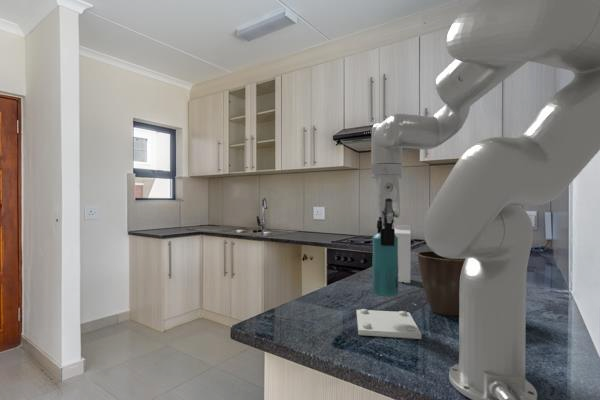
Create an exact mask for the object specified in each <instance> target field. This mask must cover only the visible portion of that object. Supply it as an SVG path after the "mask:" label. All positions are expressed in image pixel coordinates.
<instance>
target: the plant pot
mask: <svg viewBox="0 0 600 400" xmlns="http://www.w3.org/2000/svg"><path fill="white" fill-rule="evenodd" d="M465 259H466V258H464V259H450V258H445V257H442V256H439V255H437V254H436V253H434V252H433V251H432V250H431V251H430V250H429V251H427V250H425V251H419V252H417V260H418V261H417V262H418V268H419V272H420V273H419V274H420V278H421V282H422V286H423V291H424V293H425V296H426V300H427V304H428V306H429V308H430V310H431V311H432V312H433V313H435V314H438V315H441V316H449V317H455V316H459V291H460V275H461V270H462V267H463V264H464V261H465Z"/></svg>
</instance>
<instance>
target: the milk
mask: <svg viewBox="0 0 600 400" xmlns="http://www.w3.org/2000/svg"><path fill="white" fill-rule="evenodd" d="M394 229H395V235H396V236H397V237H398V269H399V271H398V276H399V283H402V282H404V283H406V284H411V256H412V255H411V252H412V251H411V249H412V248H411V237H412V236H411V233H412V232H411V225H410V224H402V223H401V224H398V223H397V224H395V223H394ZM404 283H403V284H404Z"/></svg>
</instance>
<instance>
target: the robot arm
mask: <svg viewBox="0 0 600 400" xmlns="http://www.w3.org/2000/svg"><path fill="white" fill-rule="evenodd" d="M446 49H447V52H448V54H449V56H451V57H452V58H453V60H452V61H451V62H450V63H449V64H448V65H447V66H445V68H444V69H443V70H442V71H440V73H439V74H438V75H437V77H436V79H435V89H436V91H437V95H438V96H439V98H440V100H441V101H442V102H443V103H444V104H445V105H444V106H443V107H442V108H441V109H440V110H438V111H437V112H436V113H435V114H433V115H432V116H425V115H417V114H408V113H407V114H405V113H394V114H392V115H390V116H388V117H387V118H386V119H384V121H379V122H376V123H375V124H373V126H372V128H371V156H370V159H371V160H370V161H371V163H370V165H371V166H370V179H375V214H376V216H378V219H377V221H378V220H382V229H380V228H377V233H381V245H382V246H394V241H395V229H394V225H395V218H397V219H398V218H400V217H401V207H400V206H401V205H400V203H401V200H400V199H401V198H400V196H401V195H400V180H399V179H402V178H403V149H412V150H413V149H415V150H432V149H435V148H437V147H439V146H441V145H443V144H444V143H445V142H447V141H448V140H449V139H451V138H453V137H454V136H455V135H456V134H458V133H459V131H460V130H461V129H462V128H463V126H464V124H465V123H466V120H467V119H468V117H469V113H470V108H471V106H473V105H474V104H475V103H476V102H478V101H479V100H480V99H482V98H483V97H484V96H485V95H487V94H488V93H490V91H492V90H493V89H494V88H496V87H497V86H498V85H500V84H501V83H502V82H503V81H505V80H506V79H507V78H509V77H510V76H511V75H512V74H514V73H515V72H516V71H518V70H519V69H521V68H522V67H523V66H524V65H526V63H528V62H530V63H535V64H540V65H545V66H549V67H553V68H557V69H562V70H566V71H567V70H568V71H571V72H572V73H573V74H574V78H572V80H571V81H570V82H569V83H568V84H566V85H565V86H564V87H562V88H561V89H559V90H558V91H557V92H556V93H555V94H553V95H552V97H550V98H549V99H548V100H547V101H546V102H545V103H544V104H543V106H542V107H541V108H540V110H539V111H538V113H537V114H536V116H535V117H534V119H533V120H532V121H531V123H530V124H529V125H528V126H527V128H526V129H525V131H524V132H523V133H522V134H521V135H520V136H519V137H517V138H516V137H508V136H505V137H504V136H495V137H493V136H492V137H488V138H485V139H482V140H480V141H478V142H476V143H475V144H473V145H471V146H470V147H469V148H468V149H467V150H466V151H464V152H463V154H462V155H461V156H460V157H459V159H458V160H457V162H456V163H455V164H454V166H453V168H451V169H452V170H451V171H450V173H449V174H448V176H447V178H446V179H445V180H444V183H443V184H442V186H441V188H440V189H439V191H438V192H437V194H436V196H435V198H434V199H433V201H432V202H431V204H430V206H429V208H428V210H427V212H426V214H425V217H424V222H423V231H422V232H423V237H424V241H425V243H426V245H427V247H428V248H429V249H430V250H431V251H433V252H434V253H436V254H437V255H439V256H442V257H445V258H450V259H464V258H466V259H465V261H464V264H463V267H462V270H461V275H460V291H459V315H458V316H459V317H458V323H459V324H458V326H459V327H458V333H459V334H458V335H459V336H458V340H459V341H458V363H455V364H454V365H452V366H451V367H450V368H449V370H448V379H449V382H450V383H451V385H452V387H453V388H455V390H456V391H458V392H459V393H461V394H462V395H463V396H465V397H467V398H468V399H470V400H538V392H537V390H536V388H535V386H533V384H532V383H531V382H530V381H529V380H527V379H526V317H527V316H526V312H527V311H526V309H527V307H526V305H527V304H526V301H527V276H528V275H527V272H528V263H529V259H530V254H531V248H532V245H533V240H534V225H533V223H532V219H531V217H530V215H529V214H528V212H527V211H526V210H525V209H524V208H523V207H521V206H540V205H545V204H548V203H550V202H553V201H555V200H556V199H557V198H558V197H559V196H560V195H562V194H563V192H564V191H566V189H567V188H568V187H569V186H570V185H571V183H572V182H573V181H574V180H575V179H576V178H577V177H578V175H580V174H581V172H582V171H583V169H585V168H586V166H587V165H588V164H589V163H590V162H591V161H592V160H593V159H594V157H595V156H597V154H598V153H599V152H600V0H477V1H475V2H474V3H472V4H471V5H468V7H466V8H465V9H464V10H462V12H460V13H459V14H458V16H457V17H456V18H455V19H454V20H453V22H452V24H451V26H450V28H449V30H448V32H447V37H446ZM384 220H385V221H384Z"/></svg>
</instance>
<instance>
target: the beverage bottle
mask: <svg viewBox="0 0 600 400" xmlns="http://www.w3.org/2000/svg"><path fill="white" fill-rule="evenodd" d="M384 221H385V220H384ZM378 228H380V229H382V220H378V219H377V221H376V229H378ZM371 263H372V264H371V266H372V269H371V271H372V273H371V277H372V282H371V285H372V292H373V294H374V295H376V296H379V297H384V298H386V297H387V298H388V297H389V298H390V297H391V298H392V297H396V296H398V295H399V294H398V293H399V283H400V282H399V276H398V271H399V269H398V237H397V236H396V235H395V241H394V246H382V245H381V233H378V232H377V233H375V234H374V235H373V236H372V259H371Z"/></svg>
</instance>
